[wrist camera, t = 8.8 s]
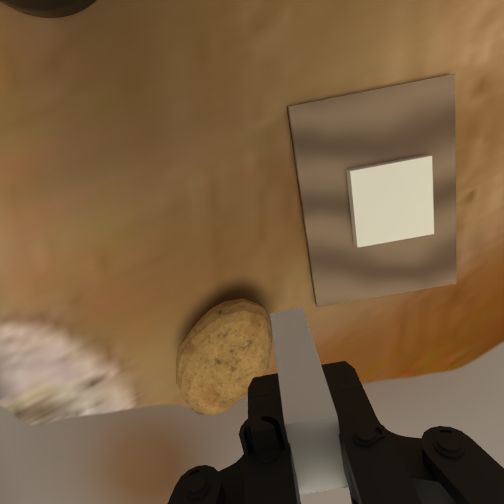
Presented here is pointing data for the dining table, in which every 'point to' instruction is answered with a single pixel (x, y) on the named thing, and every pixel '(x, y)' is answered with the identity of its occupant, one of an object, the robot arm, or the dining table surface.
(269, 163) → the dining table surface
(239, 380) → the potato
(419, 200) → the tile
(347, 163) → the board
